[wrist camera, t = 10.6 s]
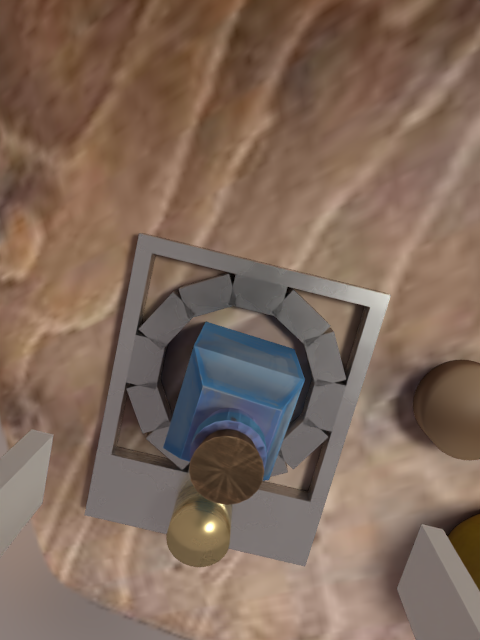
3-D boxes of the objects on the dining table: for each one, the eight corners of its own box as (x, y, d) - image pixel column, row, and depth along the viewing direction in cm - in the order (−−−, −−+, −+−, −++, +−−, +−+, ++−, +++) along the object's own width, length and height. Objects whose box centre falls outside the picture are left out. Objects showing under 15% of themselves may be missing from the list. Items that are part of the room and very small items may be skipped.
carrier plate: (143, 233, 29) (125, 233, 25) (385, 292, 29) (407, 303, 25) (90, 504, 33) (67, 544, 29) (303, 554, 33) (310, 600, 29)
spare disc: (428, 349, 30) (444, 360, 28) (514, 370, 30) (537, 383, 28) (400, 430, 31) (413, 447, 29) (483, 450, 31) (503, 469, 29)
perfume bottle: (180, 405, 31) (136, 512, 19) (205, 321, 30) (175, 382, 18) (265, 431, 31) (273, 552, 20) (294, 349, 30) (321, 426, 18)
